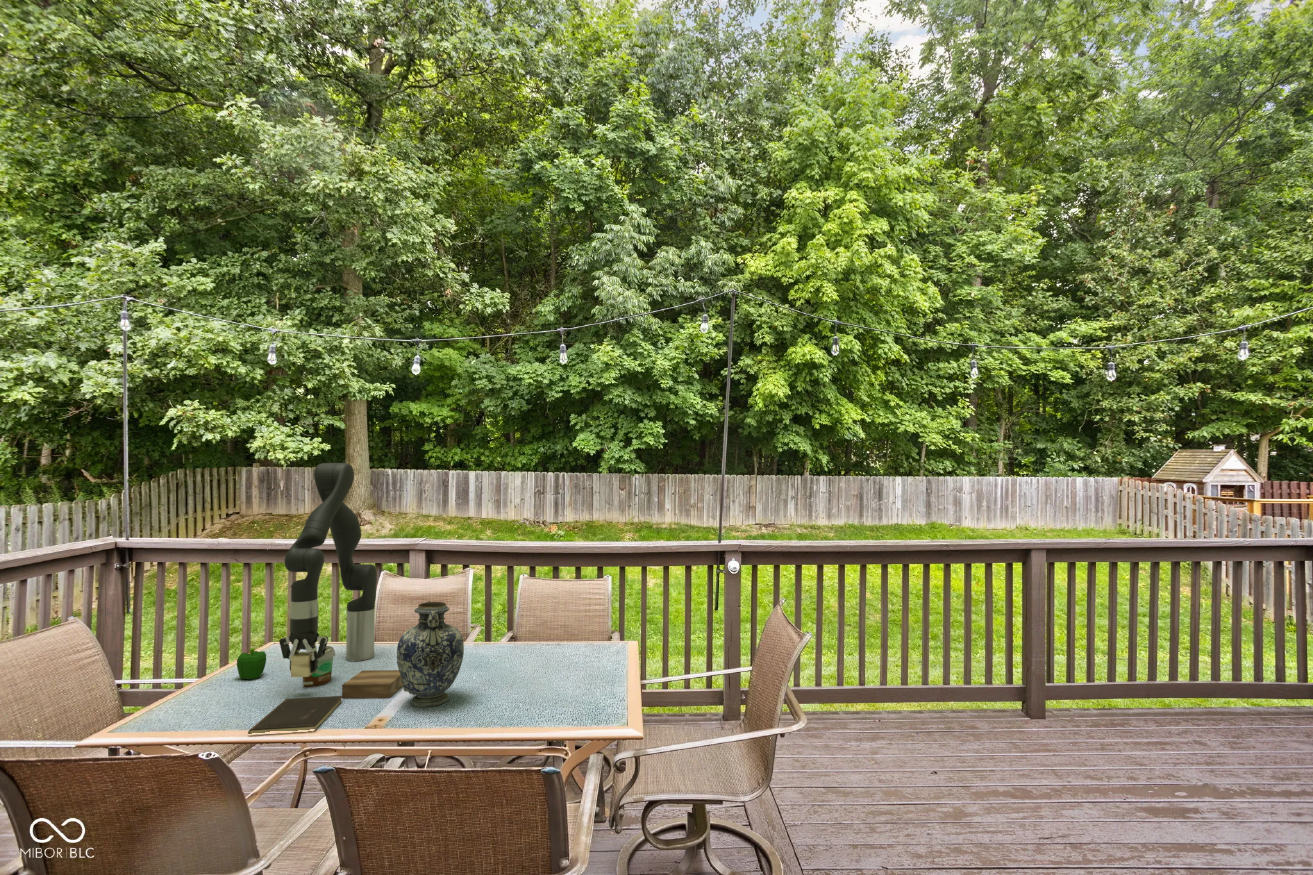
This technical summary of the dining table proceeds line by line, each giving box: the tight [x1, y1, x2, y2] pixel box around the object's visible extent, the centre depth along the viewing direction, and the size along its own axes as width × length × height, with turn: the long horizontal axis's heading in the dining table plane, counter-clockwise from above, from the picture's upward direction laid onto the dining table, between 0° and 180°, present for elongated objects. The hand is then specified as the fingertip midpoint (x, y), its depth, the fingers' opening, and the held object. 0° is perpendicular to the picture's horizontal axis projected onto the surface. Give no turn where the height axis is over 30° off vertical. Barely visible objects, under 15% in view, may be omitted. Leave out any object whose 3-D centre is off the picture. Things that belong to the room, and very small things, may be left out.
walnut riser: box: [341, 669, 403, 700], centre depth 205 cm, size 14×14×4 cm
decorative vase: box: [396, 600, 465, 708], centre depth 196 cm, size 21×19×28 cm
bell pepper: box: [236, 647, 267, 680], centre depth 218 cm, size 8×8×10 cm
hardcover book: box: [247, 695, 343, 735], centre depth 183 cm, size 16×23×2 cm
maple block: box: [290, 651, 316, 678], centre depth 201 cm, size 5×5×6 cm
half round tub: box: [302, 645, 336, 688], centre depth 213 cm, size 12×6×10 cm, turn 168°
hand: (303, 671), depth 201 cm, fingers closed on maple block, 5 cm apart
